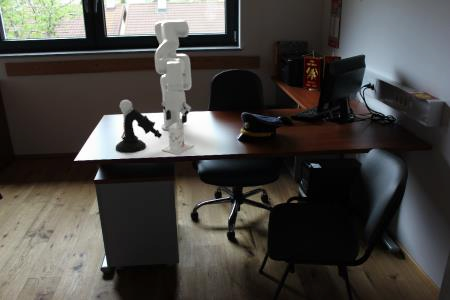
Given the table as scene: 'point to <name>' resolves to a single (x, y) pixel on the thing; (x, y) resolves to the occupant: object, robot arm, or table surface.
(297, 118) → the table surface
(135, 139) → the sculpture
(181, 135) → the ink cartridge box
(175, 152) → the grey mat
